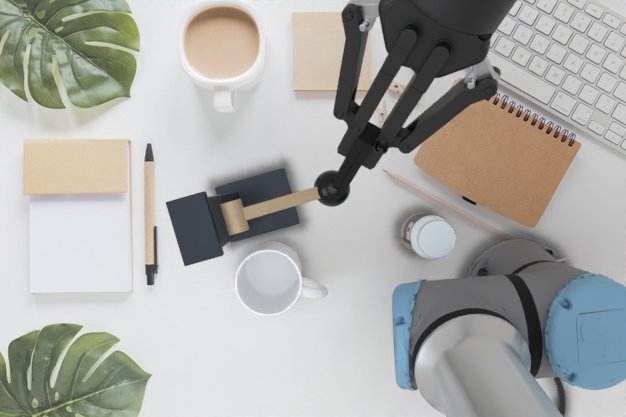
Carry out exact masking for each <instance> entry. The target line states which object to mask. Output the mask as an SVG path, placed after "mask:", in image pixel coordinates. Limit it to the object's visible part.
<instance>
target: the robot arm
mask: <svg viewBox="0 0 626 417" xmlns="http://www.w3.org/2000/svg"><path fill="white" fill-rule="evenodd" d="M517 2H518V0H348V2H347V3H346V5H345V6H344V7H343V9H342V11H341V14H340V16H341V21H342V26H343V27H342V28H343V31H344V37H345V38H344V39H345V40H344V46H343V51H342V58H341V63H340V70H339V74H338V81H337V88H336V93H335V98H334V105H333V110H332V113H333V117H334V118H335V119H337V120H340V121H343V122H345V123H346V126H347V129H346V130H345V133H344V134H343V136H342V138H341V140H340V142H339V144H338V146H337V151H336V152H337V154H338V155H340V156H342V157H344V159H343V161H342V163H341V165H340V166H339V168H338V170H337V171H338V172H337V175H336V177H335V179H334V181H333V183H332V186H334V187H336V188H338V189H340V190H342V191H344V192H345V191H346V190H347V188H348V186H349V185H350V186H351V183H352V182H353V180H354V178H355V177H356V175H357V173H358V172H359V170H360V169H361V168H362V167H364V168H365V169H368V170H369V171H371V170H373V169H374V168H376V166H377V165H378V163H379V161H380V160H381V158H383V155H385V154H387V153H388V150H389V149H391V148H395V149H398V151H399V152H400V153H402V154H405V155H406V154H410V153H411V152H413V151H414V150H415V149H417V148H418V147H420V146H421V145H422V144H423V143H424V142H425V141H427V140H428V139H429V138H431V137H432V136H433V135H434V134H436V133H437V132H438V131H439V130H441V129H442V128H443V127H444V126H446V125H448V123H449V122H451V121H452V120H453V119H455V118H456V117H457V116H458V115H459V114H461V113H462V112H464V110H466V109H467V108H469V107H470V106H471V105H473V104H476V103H479V102H482V101H485V100H488V99H490V98H493V97H495V96H496V95H497V94H498V90H499V85H500V81H501V75H502V72H501V69H500V68H499V67H498V66H495V65H492V63H491V61H490V59H489V57H488V54H489V52H490V47H491V38H492V37H493V35H494V34H495V33H496V32H497V30H498V28H499V27H500V26H501V24H502V22H503V21H504V20H505V18H506V17H507V16H508V14H509V13H510V11H511V10H512V8H513V7H514V6H515V4H516V3H517ZM377 18H379V23H380V27H381V33H382V37H383V43H384V48H385V50H386V53H387V55H386V57H385V59H384V61H383V63H382V64H381V66H380V68H379V70H378V72H377V74H376V75H375V77H374V79H373V81H372V82H371V84H370V86H369V88H368V90H367V92H366V94H365V95H364V97H363V99H362V101H361V103H360V104H358V102H356V97H357V92H358V87H359V81H360V77H361V72H362V68H363V62H364V59H365V58H364V57H365V52H366V47H367V42H368V39H369V38H368V37H369V34H370V33H369V32H370V31H371V30H372V29H373V27H374V25H375V23H376V21H377ZM402 67H404V68H408V69H410V70H411V71H413V72H414V73H413V75H412V76H411V78H410V80H409V81H408V83H407V85H406V86H405V88H404V89H403V91H402V92H401V94H400V95H399V97H398V99H397V101H396V102H395V104H394V106H393V107H392V109H391V111H390V112H389V114H388V116H386V118H385V120H384V122H383V124H382V126H381V127H380V126H378V125H376V124H374V123H372V122H370V120H371V118H372V116H373V115H374V114H375V112H376V110H377V108H378V106H379V105H380V102H381V101H382V99H383V98H384V96H385V94H386V93H387V91H388V89H389V87H390V86H391V84H392V82H393V81H394V79H395V78H396V77H397V75H398V73H399V71H400V70H401V68H402ZM466 69H467V70H466ZM463 70H466V72H465V76H464V77H463V78H462V79H461V80H459V81H458V82H457V83H455V85H453V86H452V87H451V88H450V89H449V90H447V91H446V92H445V93H444V94H443V95H442V96H440V97H439V98H438V99H437V100H436V101H434V102H433V103H432V104H431V105H429V107H427V108H426V109H425V110H424V111H423V112H421V113H420V114H419V115H418V116H417V117H416V118H415V119H413V120H412V121H411V122H409V124H408V125H406V126H405V127H403V126H404V125H405V124H406V122H407V120H408V119H409V117H410V116H411V114H412V112H413V111H414V109H415V108H416V106H417V105H418V104H419V102H420V100H421V99H422V97H423V96H424V94H426V92H428V90H429V88H430V87H431V85H432V84H433V82H434V80H435V79H440V78H444V77H447V76H449V75H452V74H455V73H457V72H461V71H463ZM570 260H572V258H568V257H562V256H561V254H559V253H558V252H557V251H555V250H554V249H552V248H551V247H549V246H547V245H545V244H544V243H540V242H538V241H535V240H530V239H525V238H512V239H506V240H502V241H499V242H497V243H494V244H492V245H490V246H489V247H488V248H486V249H484V250H483V251H482V252H481V253H480V254H479V255H478V256H477V257H476V258H475V259H474V261H473V263H472V264H471V265H470V267H469V270H468V271H467V274H466V277H456V278H444V279H429V280H427V279H424V278H420V279H419V280H417V281H412V282H407V283H406V282H404V283H400V284H398V285H397V286H396V287H395V288H394V289H393V291H392V293H391V294H392V295H391V313H392V314H391V316H392V319H391V320H392V339H393V341H392V342H393V357H394V372H395V382H396V385H397V386H398V388H400V389H401V390H409V391H412V392H414V391H415V392H417V390H418V391H419V393H420V395H421V397H422V398H423V399H424V400H425V402H426V403H427V404H428V405H429V406H431V407H432V408H433V409H434V410H436V411H437V412H439V413H441V414H443V415H445V417H565V416H566V415H565V414H566V394H565V388H564V385H563V382H564V383H566V384H568V385H570V386H572V387H577V388H579V389H583V390H588V391H589V390H590V391H600V390H606V389H610V388H613V387H615V386H617V385H618V384H621V383H622V382H624V381H625V380H626V286H625V285H623V284H621V283H620V282H618V281H616V280H615V279H613V278H611V277H609V276H607V275H605V274H602V273H595V272H590V271H588V270H584V269H581V268H577V267H574V266H570V265H569V264H568V263H567V261H570ZM550 378H552V379H554V382H555V384H556V387H557V391H558V396H559V397H558V398H559V407H558V408H559V409H558V408H557V406H556V405H555V403H554V402H553V401H552V399H551V398H550V397H549V395H548V394H547V393H546V392H545V390H544V389H543V388H542V386H541V385H540V384H539V382H538V381H537V380H538V379H550ZM562 381H563V382H562Z"/></svg>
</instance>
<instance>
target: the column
mask: <svg viewBox="0 0 626 417" xmlns="http://www.w3.org/2000/svg"><path fill="white" fill-rule="evenodd" d="M237 199H240V196H239V193H238V192H236V193H229V194H223V195H217V194H216V195H211V196H210V195H209V196H208V193H207V190H206V191H204V190H203V191H199V192H196V193H193V194H190V195H189V194H188V195H185V196H182V197H178V198H175V199H172V200H167V201H165V207H166V209H167V212H168V216H169V219H170V222H171V225H172V229H173V233H174V237H175V240H176V242H177V245H178V249H179V253H180V257H181V259H182V263H183V266H184V267H188V266H191V265H194V264H198V263H202V262H206V261H210V260H212V259H216V258H220V257H222V256H224V255H225V251H224V247H226V245H227V244H229V243H231V242H230V241H231V240H232V239H233V238H235V237H236V236H237V235H238V234H240V233H237V234H234V235H229V234H228V231H227V228H226V224H225V221H224V217H223V214H222V211H221V207H220V204H223V203H226V202H230V201H233V200H237Z"/></svg>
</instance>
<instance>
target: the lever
mask: <svg viewBox="0 0 626 417" xmlns="http://www.w3.org/2000/svg"><path fill="white" fill-rule="evenodd" d="M337 172H338V170H334V169H329V170H326V171H323V172H321V173H320V174H319V175H318V176H317V177H316V179H315V181H314V184H313V187H310V188H307V189H302V190H300V191H297V192H293V193H292V192H291V193H292V194H289V195H285V196H282V197H278V198H275V199H271V200H268V201H265V202H261V203H258V204H254V205H251V206H247V207H244V208H243V205H242V201H241V199H237V200H233V201H230V202H226V203H223V204H220V207H221V211H222V214H223V217H224V221H225V224H226V228H227V231H228V234H229V235H234V234H237V233H241V232H244V231H247V230H249V226H248V222H247V220H249V219H253V218H256V217H260V216H263V215H266V214H270V213H273V212H276V211H280V210H283V209H287V208H290V207H293V206H295V207H296V206H300V205H303V204H307V203H311V202H314V201H318V202H319V203H320V204H321V205H323V206H325V207H331V208H333V207H338V206H341V205H342V204H344V203H345V202H346V201H347V200H348V198H349V196H350V193H351V184H350V185H349V186H348V188H347V190H346V191H345V192H344V191H342V190H340V189H338V188H336V187H334V186H332V183H333V181H334V179H335V177H336V175H337Z"/></svg>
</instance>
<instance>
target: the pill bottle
mask: <svg viewBox="0 0 626 417" xmlns="http://www.w3.org/2000/svg"><path fill="white" fill-rule="evenodd" d="M400 237H401V240H402V243H403V245H404V246H405V247H406V248H407V249H408V250H409V251H411V252H413V253H415V254H416V255H418V256H420V257H421V258H424V259H426V260H437V259H441V258H444V257H447V256H449V255H450V254H452V252H453V250H454V249H455V246H456V244H457V234H456V232H455V229H454V228H453V227H452V225H450V223H449V222H448V221H447V220H446V219H444V217H441V216H439V215H434V214H431V213H426V212H417V213H413V214H410V216H407V218H406V219H405V220H404V221H403V223H402V226H401V228H400Z"/></svg>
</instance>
